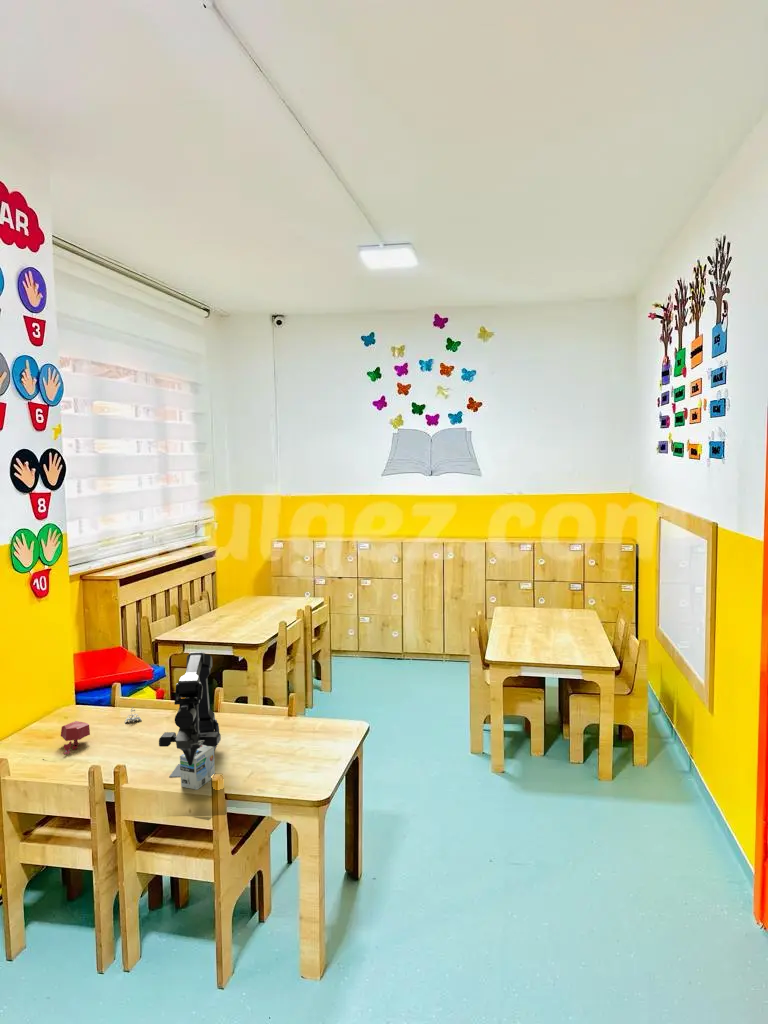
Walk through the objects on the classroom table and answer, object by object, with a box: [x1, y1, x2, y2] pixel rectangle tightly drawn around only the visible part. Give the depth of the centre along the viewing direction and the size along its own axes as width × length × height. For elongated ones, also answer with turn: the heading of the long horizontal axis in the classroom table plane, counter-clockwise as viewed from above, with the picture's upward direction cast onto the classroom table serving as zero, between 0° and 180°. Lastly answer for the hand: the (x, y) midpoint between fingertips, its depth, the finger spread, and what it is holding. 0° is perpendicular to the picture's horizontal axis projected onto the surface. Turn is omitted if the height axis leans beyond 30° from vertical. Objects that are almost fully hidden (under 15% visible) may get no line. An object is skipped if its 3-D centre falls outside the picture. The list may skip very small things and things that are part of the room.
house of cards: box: [124, 706, 143, 724], centre depth 308 cm, size 9×9×8 cm
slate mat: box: [169, 763, 181, 778], centre depth 258 cm, size 11×20×1 cm, turn 89°
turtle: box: [60, 720, 91, 755], centre depth 278 cm, size 15×20×9 cm
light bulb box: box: [179, 745, 216, 791], centre depth 248 cm, size 11×7×11 cm, turn 159°
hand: (190, 765), depth 239 cm, fingers closed
